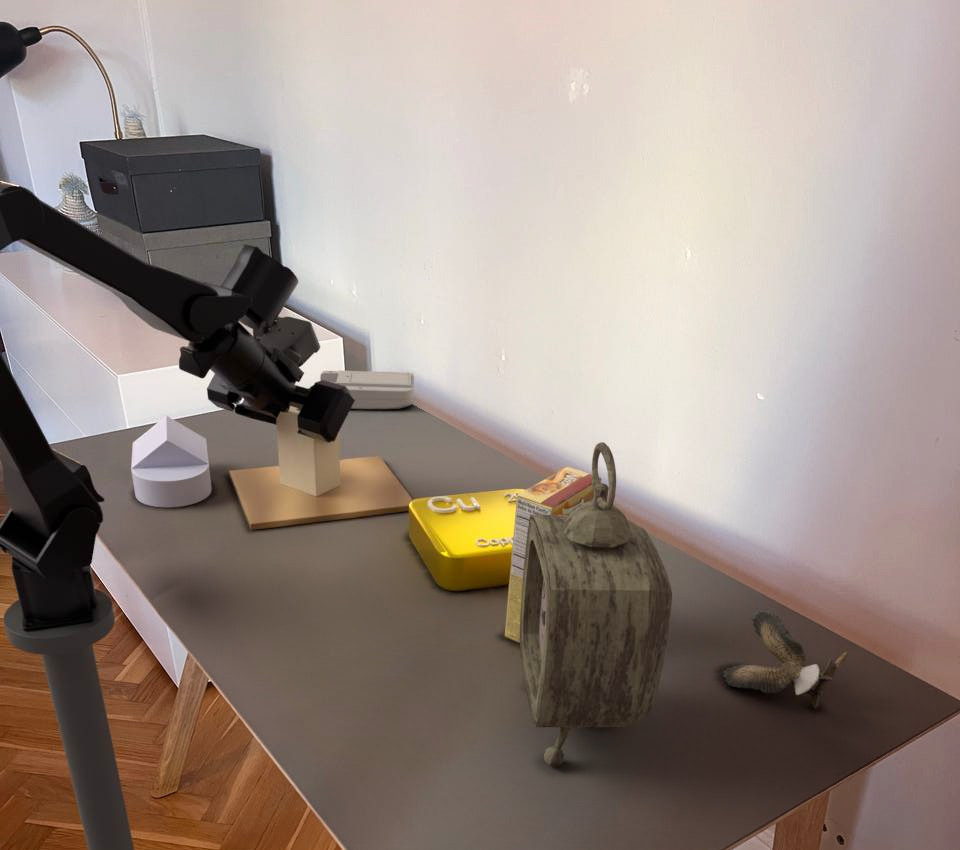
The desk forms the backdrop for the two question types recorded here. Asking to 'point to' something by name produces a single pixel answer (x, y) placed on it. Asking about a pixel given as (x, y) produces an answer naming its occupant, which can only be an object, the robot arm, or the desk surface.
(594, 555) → the tabletop clock
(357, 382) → the handheld gaming device
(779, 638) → the eagle figurine
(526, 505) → the candy box
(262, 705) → the desk surface
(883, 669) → the desk surface
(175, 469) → the wedge on round base
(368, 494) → the cork mat
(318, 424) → the robot arm
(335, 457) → the toaster
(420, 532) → the element tile
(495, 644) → the desk surface
